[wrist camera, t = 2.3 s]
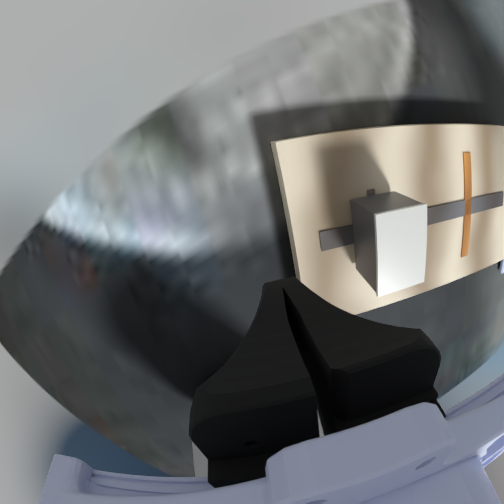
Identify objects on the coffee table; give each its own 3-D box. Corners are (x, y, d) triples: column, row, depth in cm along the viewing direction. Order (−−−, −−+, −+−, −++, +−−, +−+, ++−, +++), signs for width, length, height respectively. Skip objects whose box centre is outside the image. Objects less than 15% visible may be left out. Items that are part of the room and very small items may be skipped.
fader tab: (394, 190, 15) (427, 203, 12) (396, 258, 17) (424, 281, 14) (348, 199, 15) (375, 214, 12) (354, 269, 17) (377, 296, 14)
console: (493, 124, 15) (509, 126, 13) (490, 250, 20) (504, 259, 18) (270, 141, 16) (275, 142, 14) (301, 311, 20) (307, 328, 19)
